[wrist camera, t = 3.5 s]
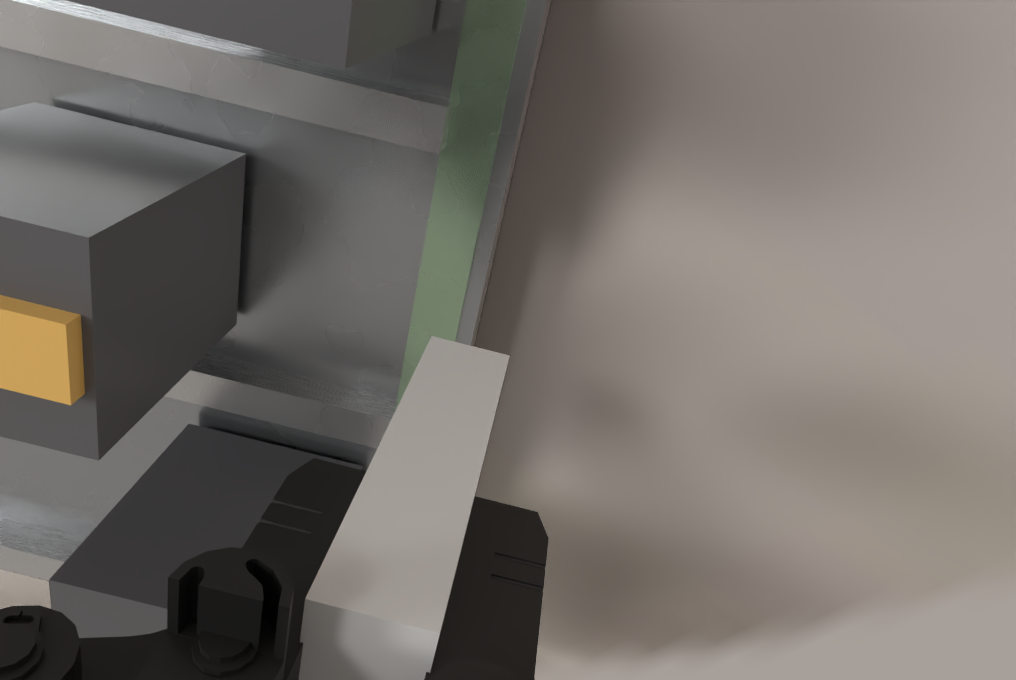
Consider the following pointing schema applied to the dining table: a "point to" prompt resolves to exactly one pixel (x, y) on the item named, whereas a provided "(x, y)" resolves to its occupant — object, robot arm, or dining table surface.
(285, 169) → the panel
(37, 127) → the block
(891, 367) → the dining table surface
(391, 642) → the robot arm
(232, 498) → the block
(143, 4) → the breaker
